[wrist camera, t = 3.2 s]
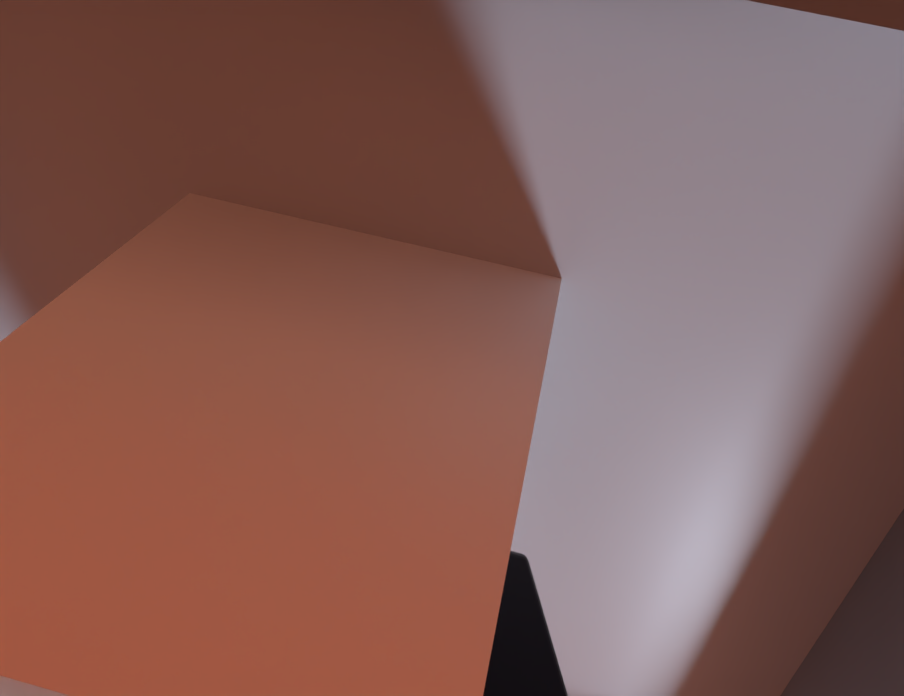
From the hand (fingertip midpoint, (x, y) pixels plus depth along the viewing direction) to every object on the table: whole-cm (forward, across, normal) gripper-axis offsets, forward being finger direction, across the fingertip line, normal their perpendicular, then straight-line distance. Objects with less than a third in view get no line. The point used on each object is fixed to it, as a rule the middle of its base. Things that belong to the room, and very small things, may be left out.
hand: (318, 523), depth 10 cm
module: (+1, 0, 0) cm, 1 cm away
